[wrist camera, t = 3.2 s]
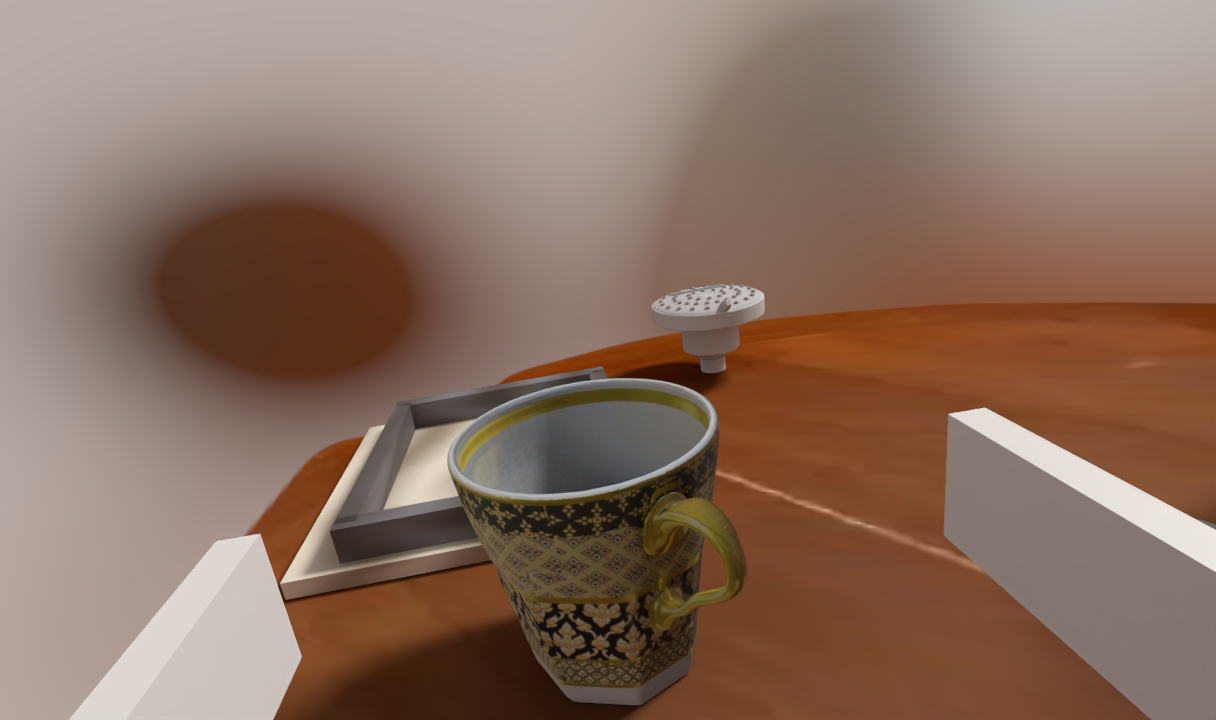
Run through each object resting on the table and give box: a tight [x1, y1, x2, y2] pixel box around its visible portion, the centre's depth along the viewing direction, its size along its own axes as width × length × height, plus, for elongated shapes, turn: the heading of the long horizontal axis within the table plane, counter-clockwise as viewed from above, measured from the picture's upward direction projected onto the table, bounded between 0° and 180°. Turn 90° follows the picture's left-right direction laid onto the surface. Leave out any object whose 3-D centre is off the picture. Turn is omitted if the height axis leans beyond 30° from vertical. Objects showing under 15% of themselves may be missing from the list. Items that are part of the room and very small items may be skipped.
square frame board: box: [280, 367, 607, 600], centre depth 43 cm, size 22×20×3 cm
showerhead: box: [652, 284, 765, 373], centre depth 55 cm, size 9×7×10 cm
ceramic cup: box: [447, 378, 747, 705], centre depth 24 cm, size 13×10×10 cm
